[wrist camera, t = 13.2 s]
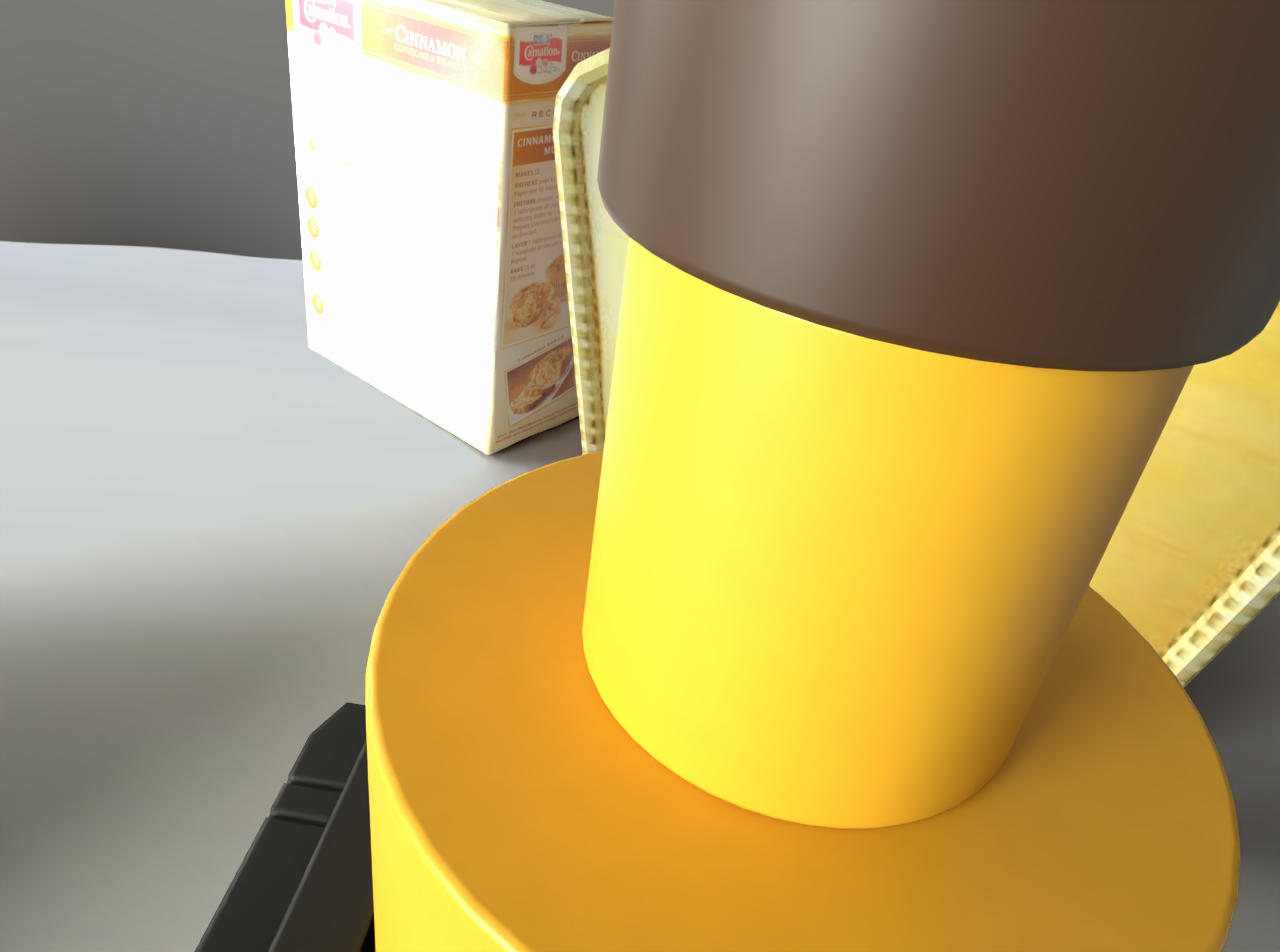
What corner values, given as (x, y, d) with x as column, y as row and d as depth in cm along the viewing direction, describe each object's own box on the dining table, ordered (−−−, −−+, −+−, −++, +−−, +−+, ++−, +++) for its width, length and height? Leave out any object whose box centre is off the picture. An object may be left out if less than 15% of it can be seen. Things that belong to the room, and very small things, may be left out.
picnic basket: (800, 351, 61) (936, -220, 45) (1233, 514, 51) (1613, -156, 35) (500, 558, 40) (553, -384, 24) (1138, 915, 29) (2021, -349, 13)
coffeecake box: (585, 415, 51) (628, 17, 41) (486, 461, 46) (506, 21, 36) (405, 318, 58) (402, -41, 48) (303, 348, 53) (274, -45, 43)
